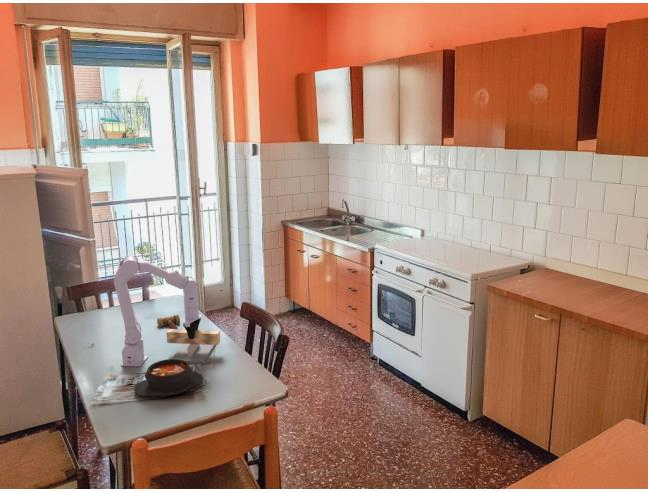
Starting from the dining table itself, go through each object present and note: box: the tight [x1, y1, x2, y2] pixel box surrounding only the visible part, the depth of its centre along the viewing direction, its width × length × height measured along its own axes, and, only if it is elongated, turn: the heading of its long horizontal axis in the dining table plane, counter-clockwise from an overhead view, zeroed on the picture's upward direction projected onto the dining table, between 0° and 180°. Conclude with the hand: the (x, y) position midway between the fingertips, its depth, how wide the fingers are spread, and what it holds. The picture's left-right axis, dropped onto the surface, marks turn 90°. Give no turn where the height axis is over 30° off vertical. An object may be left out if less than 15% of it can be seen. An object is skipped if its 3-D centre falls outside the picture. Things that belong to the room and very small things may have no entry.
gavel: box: [156, 314, 181, 329], centre depth 258 cm, size 21×5×10 cm
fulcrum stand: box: [170, 344, 216, 365], centre depth 231 cm, size 20×14×5 cm
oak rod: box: [166, 328, 221, 346], centre depth 230 cm, size 22×4×5 cm, turn 87°
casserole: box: [133, 358, 204, 397], centre depth 201 cm, size 25×19×8 cm
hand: (193, 336), depth 230 cm, fingers closed on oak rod, 3 cm apart
